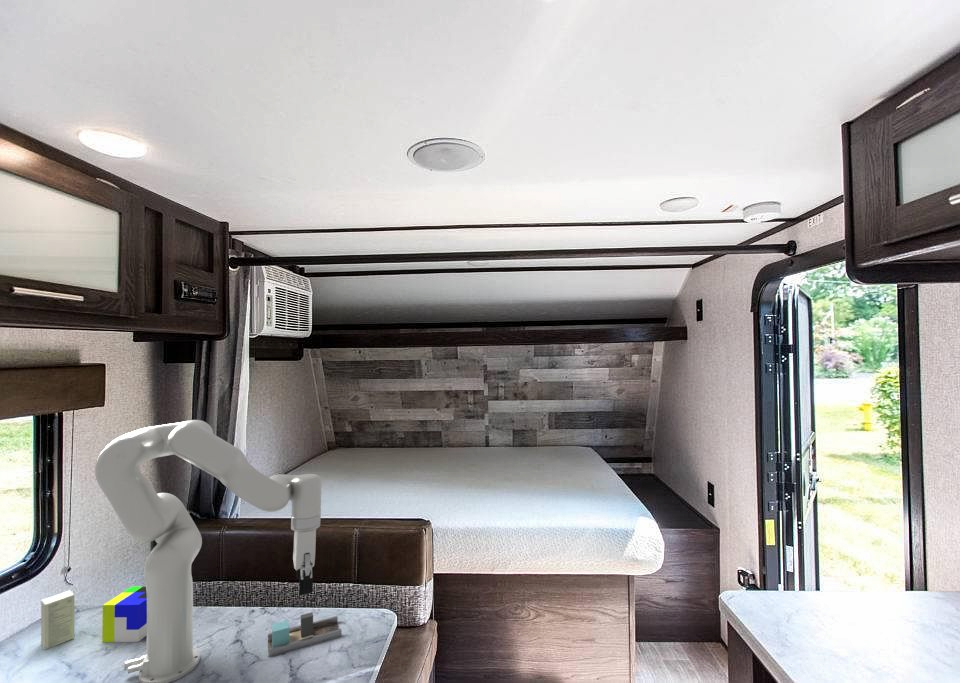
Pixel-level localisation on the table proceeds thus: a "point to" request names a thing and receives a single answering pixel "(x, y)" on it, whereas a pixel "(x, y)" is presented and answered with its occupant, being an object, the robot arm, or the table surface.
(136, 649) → the table surface
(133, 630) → the puzzle toy
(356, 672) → the table surface
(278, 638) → the cube
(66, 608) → the skincare box
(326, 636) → the board
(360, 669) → the table surface
